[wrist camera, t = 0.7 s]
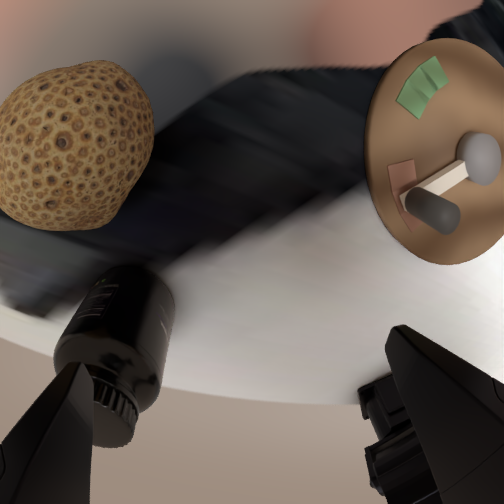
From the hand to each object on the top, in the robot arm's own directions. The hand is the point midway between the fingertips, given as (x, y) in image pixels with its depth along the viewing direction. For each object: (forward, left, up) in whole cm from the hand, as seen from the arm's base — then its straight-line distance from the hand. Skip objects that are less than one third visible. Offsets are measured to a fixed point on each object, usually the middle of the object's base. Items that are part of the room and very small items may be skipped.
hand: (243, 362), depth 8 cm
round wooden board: (-2, -19, -14) cm, 24 cm away
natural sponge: (+8, +6, -14) cm, 18 cm away
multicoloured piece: (-2, -16, -13) cm, 21 cm away
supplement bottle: (-4, +10, -14) cm, 18 cm away
